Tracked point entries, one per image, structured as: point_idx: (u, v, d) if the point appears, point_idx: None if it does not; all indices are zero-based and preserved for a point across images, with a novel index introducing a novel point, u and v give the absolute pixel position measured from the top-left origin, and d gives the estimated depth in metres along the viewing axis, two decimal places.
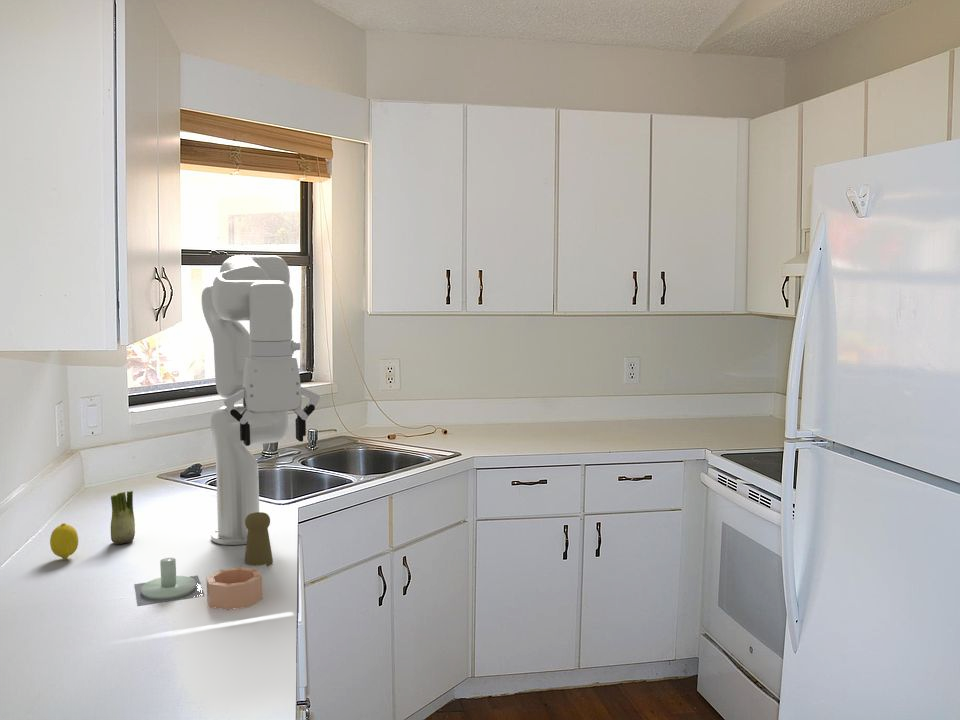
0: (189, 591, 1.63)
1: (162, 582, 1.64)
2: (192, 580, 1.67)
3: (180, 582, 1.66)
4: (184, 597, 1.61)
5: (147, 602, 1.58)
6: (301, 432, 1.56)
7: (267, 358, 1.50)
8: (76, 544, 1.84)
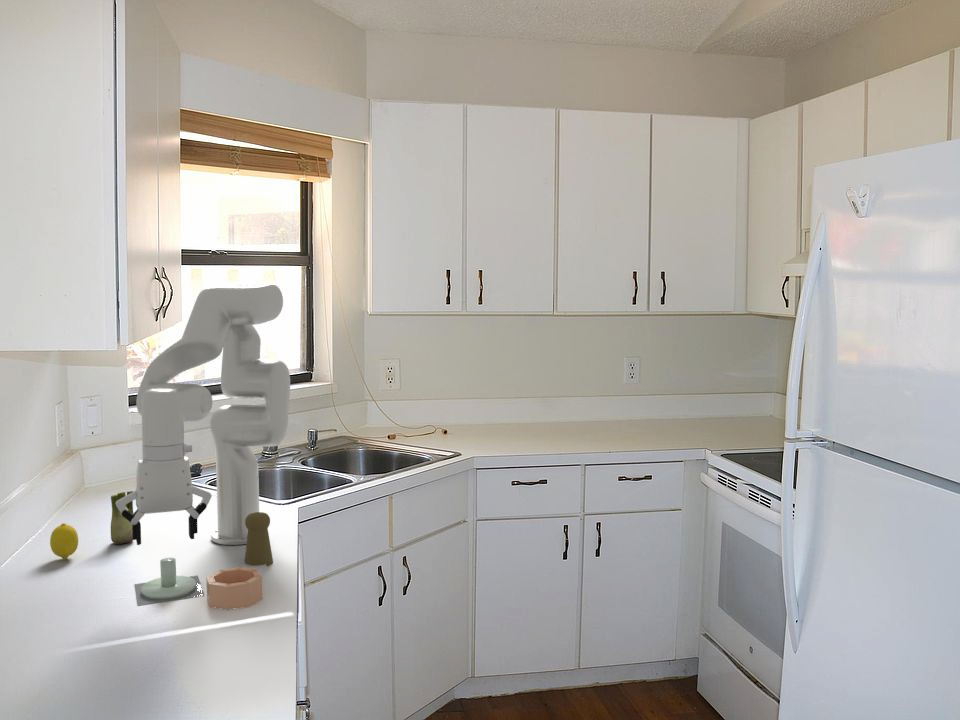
0: (189, 591, 1.63)
1: (162, 582, 1.64)
2: (191, 580, 1.67)
3: (180, 582, 1.66)
4: (184, 597, 1.61)
5: (147, 602, 1.58)
6: (192, 530, 1.64)
7: (157, 462, 1.58)
8: (76, 544, 1.84)
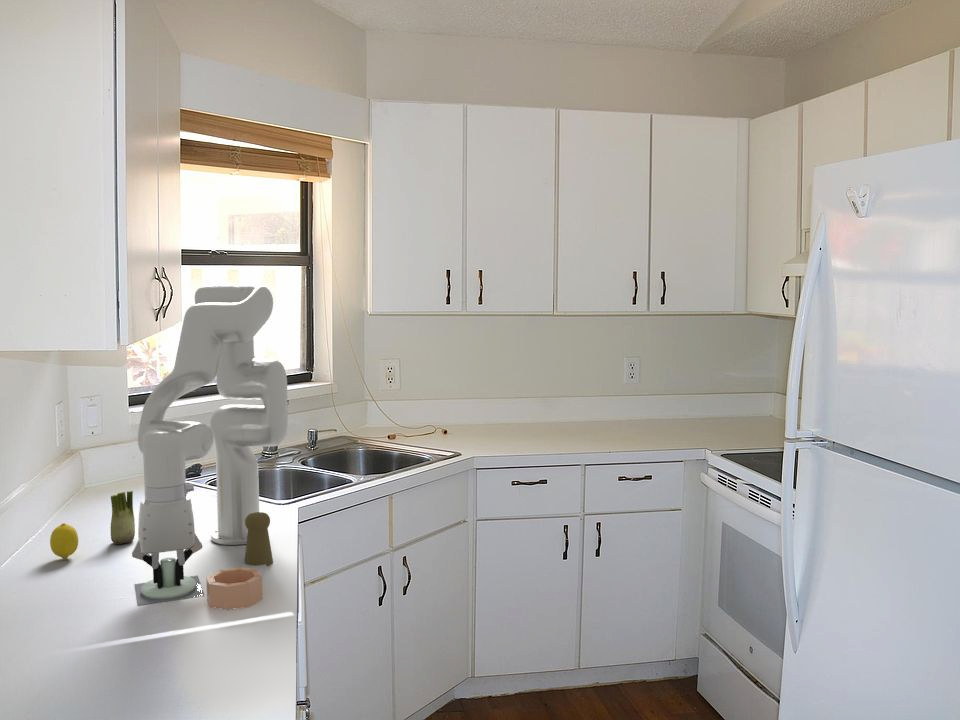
0: (189, 591, 1.63)
1: (162, 582, 1.64)
2: (191, 580, 1.67)
3: None
4: (184, 597, 1.61)
5: (147, 602, 1.58)
6: (178, 577, 1.64)
7: (159, 503, 1.59)
8: (76, 544, 1.84)
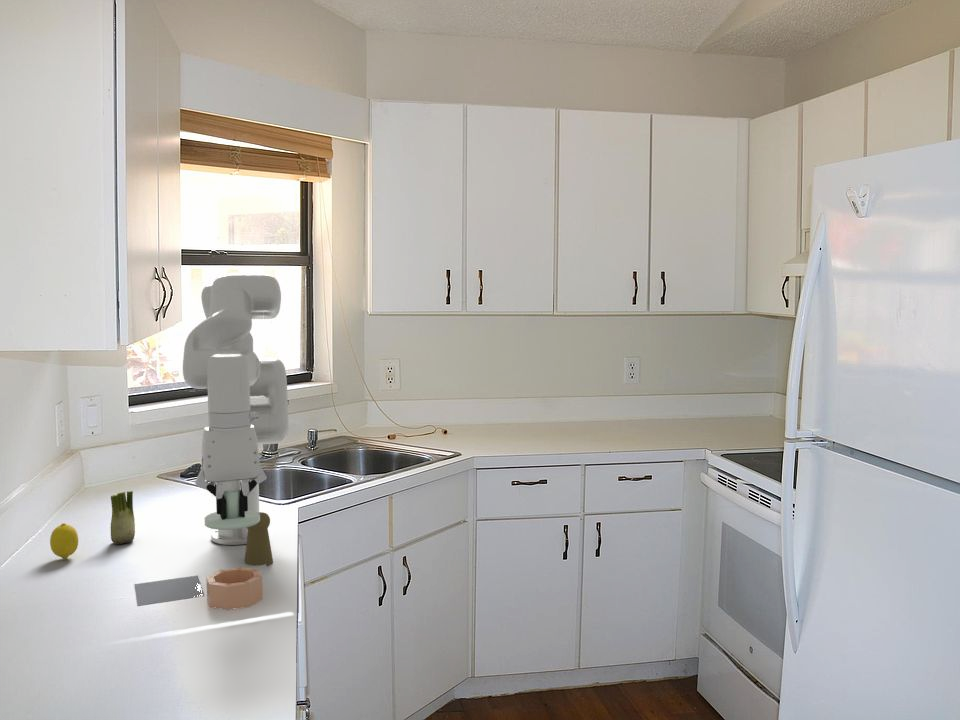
0: (254, 522, 1.57)
1: (226, 513, 1.57)
2: (255, 513, 1.61)
3: None
4: (184, 597, 1.61)
5: (147, 602, 1.58)
6: (243, 508, 1.58)
7: (224, 429, 1.53)
8: (76, 544, 1.84)
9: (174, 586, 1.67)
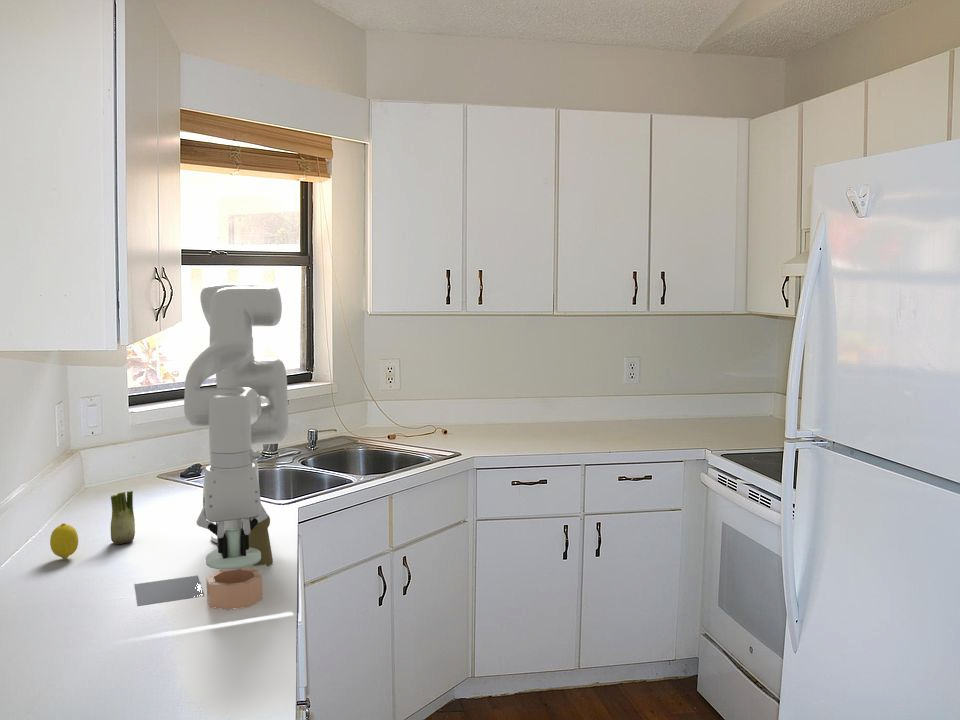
0: (255, 561, 1.58)
1: (227, 552, 1.58)
2: (256, 551, 1.62)
3: None
4: (184, 597, 1.61)
5: (147, 602, 1.58)
6: (244, 547, 1.59)
7: (226, 470, 1.54)
8: (76, 544, 1.84)
9: (174, 586, 1.67)
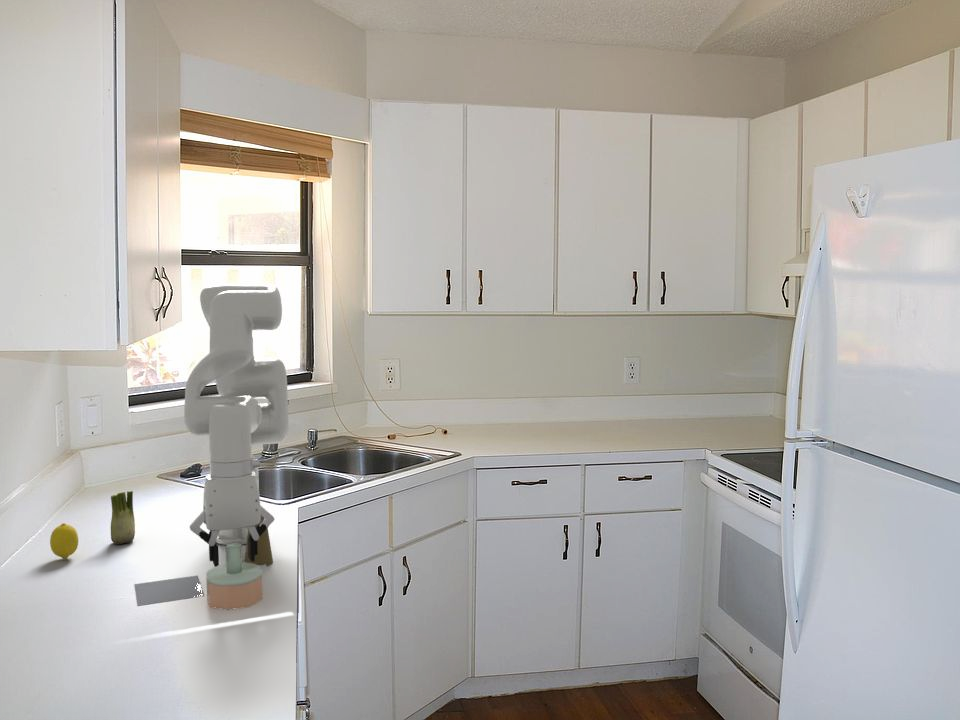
0: (256, 577, 1.58)
1: (228, 568, 1.59)
2: (257, 567, 1.62)
3: (246, 568, 1.61)
4: (184, 597, 1.61)
5: (147, 602, 1.58)
6: (252, 552, 1.59)
7: (226, 479, 1.54)
8: (76, 544, 1.84)
9: (174, 586, 1.67)
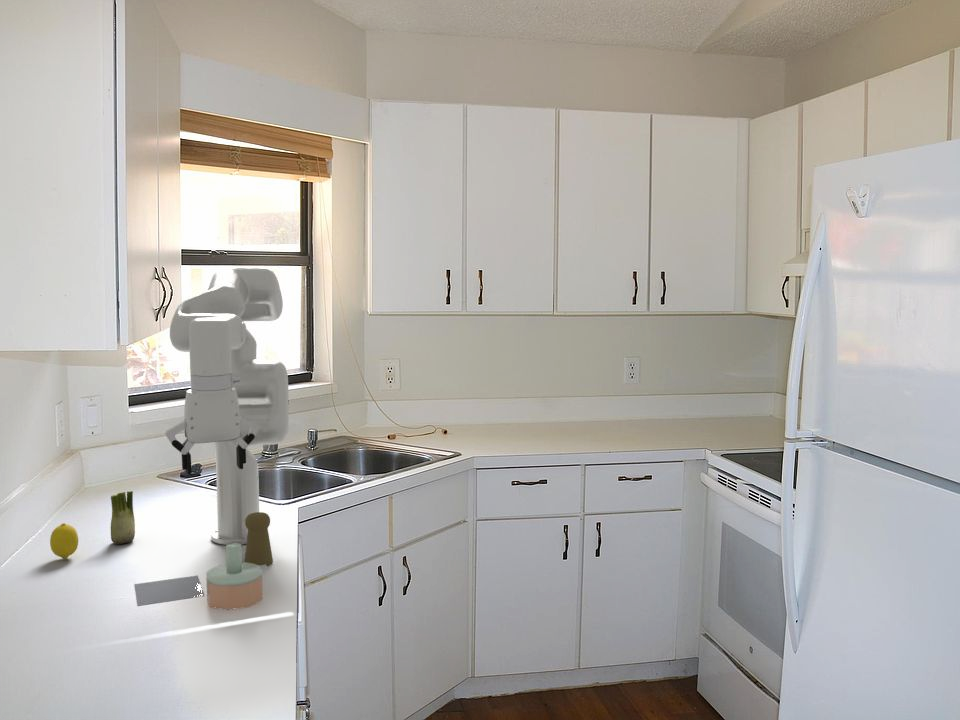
0: (256, 577, 1.58)
1: (228, 568, 1.59)
2: (257, 567, 1.62)
3: (246, 568, 1.61)
4: (184, 597, 1.61)
5: (147, 602, 1.58)
6: (241, 460, 1.64)
7: (206, 392, 1.57)
8: (76, 544, 1.84)
9: (174, 586, 1.67)
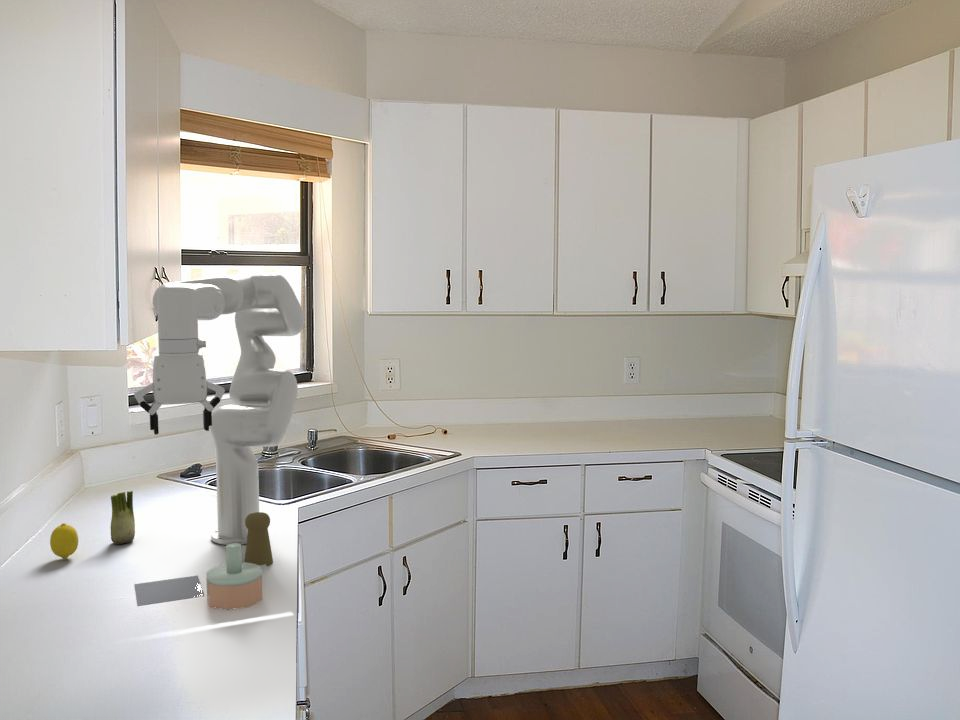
0: (256, 577, 1.58)
1: (228, 568, 1.59)
2: (257, 567, 1.62)
3: (246, 568, 1.61)
4: (184, 597, 1.61)
5: (147, 602, 1.58)
6: (207, 422, 1.71)
7: (173, 355, 1.65)
8: (76, 544, 1.84)
9: (174, 586, 1.67)
